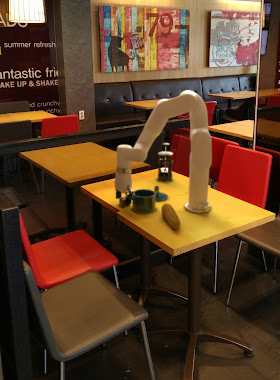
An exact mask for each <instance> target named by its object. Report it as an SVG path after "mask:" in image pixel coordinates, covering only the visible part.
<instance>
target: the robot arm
mask: <svg viewBox="0 0 280 380" xmlns="http://www.w3.org/2000/svg"><path fill="white" fill-rule="evenodd" d="M187 113H189V124H190V128H189V129H190V130H189V140H190V154H189V173H188V174H189V178H188V197H187V198H188V199H187V200H188V201H187V202H186V203H185V205H184V208H185V209H186V210H187V211H189V212H191V213H196V214H204V213H207V212H209V211H210V210H211V209H212V208H213V207H212V206H211V205H210V202H209V200H208V198H209V181H210V180H209V179H210V168H211V166H212V163H213V152H212V151H213V149H212V147H213V146H212V145H213V144H212V135H211V134H210V132H209V117H208V115H209V114H208V108H207V105H206V102H205V101H204V99H203V98H202V96H200V95H199V94H198V93H196V92H194V91H192V90H183V91H182V92H181V93H180V94H179V95H178V96H175V97H172V98H169V99H168V98H162V99H160V100H158V101H157V103H156V104H155V106H154V108H153V109H152V111H151V113H150V115H149V117H148V119H147V121H146V123H145V125H144V127H143V129H142V131H141V133H140V135H139V137H138V139H137V141H135V144H134V146H133V147H132V146H131V145H129V144H120V145H118V146H117V147H116V170H115V175H114V176H115V177H114V189H115V199H116V200H119V198H121V197H123V196H122V195H123V194H124V195H125V196H126V198H125V205H128V206H132V200H129V199H128V197H131V196H133V192H134V191H135V190H133V180H132V179H133V177H132V169H133V168H132V167H133V165H132V164H133V162H135V163H144V161H146V160H147V158H148V153H149V151H150V149H151V147H152V145H153V144H154V142H155V140H156V139H157V137H158V136H160V134H161V133H162V132H163V130H164V128H165V126H166V124H167V122H168V121H169V119H172V118H176V117H177V116H181V115H183V114H187Z"/></svg>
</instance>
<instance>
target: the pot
mask: <svg viewBox="0 0 280 380" xmlns="http://www.w3.org/2000/svg"><path fill="white" fill-rule="evenodd" d="M133 191H134V192H133V196H131V197H128V199H129V200H131V206H132V207H131V209H132V210H133V211H134V212H137V213H141V214H148V213H152V212H154V211H155V210H156V206H157V205H156V204H157V203H156V202H157V201H156V195H157V194H159V192H160V191H159V192H158V191H154V190H152V189H147V188H141V189H135V190H133Z"/></svg>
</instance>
